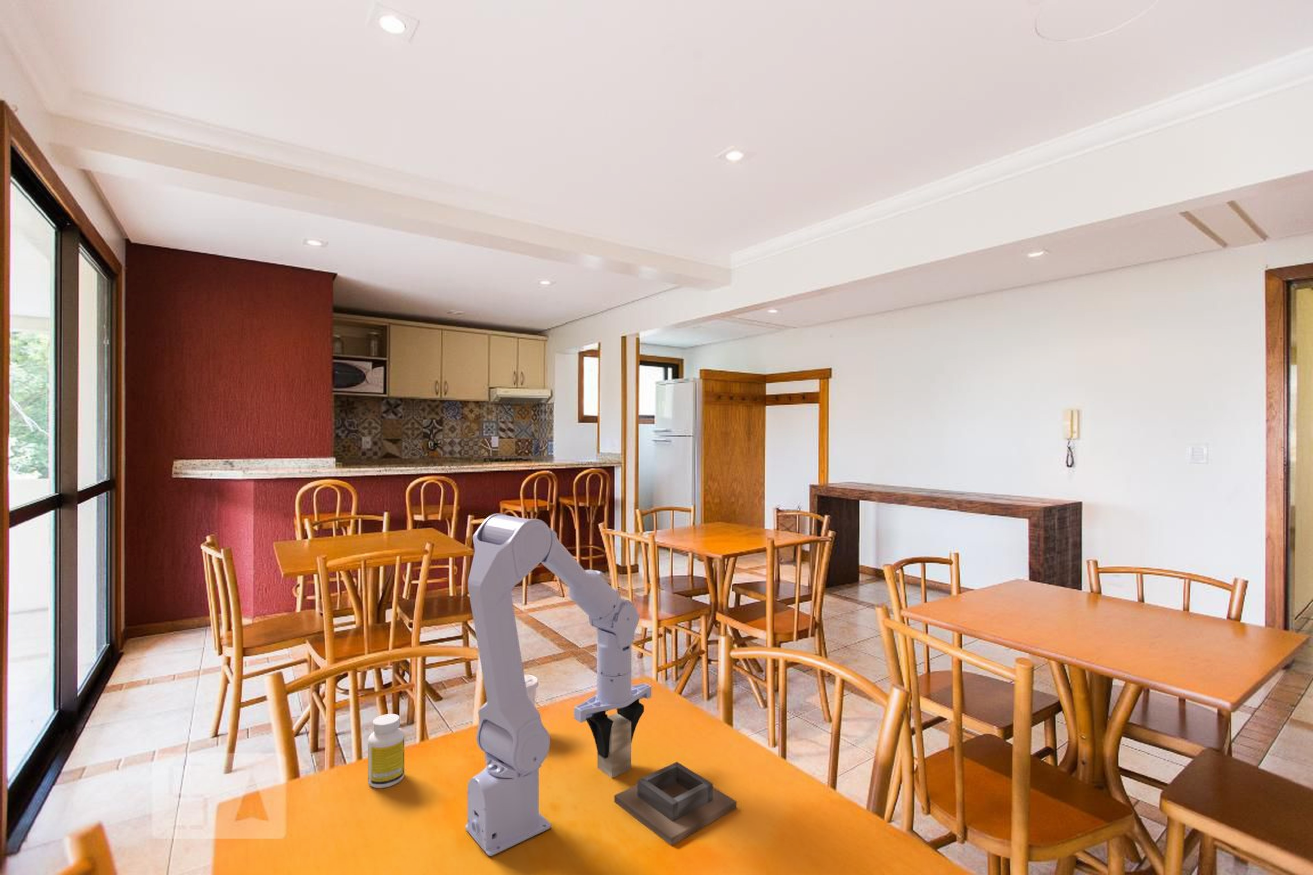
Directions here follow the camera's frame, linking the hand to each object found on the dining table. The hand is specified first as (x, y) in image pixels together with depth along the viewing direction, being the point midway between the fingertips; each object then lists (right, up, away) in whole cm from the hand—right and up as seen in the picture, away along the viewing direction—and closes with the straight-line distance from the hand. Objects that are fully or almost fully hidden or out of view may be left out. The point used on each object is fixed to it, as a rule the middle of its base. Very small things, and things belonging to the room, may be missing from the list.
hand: (614, 750), depth 104 cm
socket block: (+10, -3, -10) cm, 14 cm away
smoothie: (-18, -3, +12) cm, 22 cm away
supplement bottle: (-36, -3, -3) cm, 37 cm away
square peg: (0, -3, 0) cm, 3 cm away
